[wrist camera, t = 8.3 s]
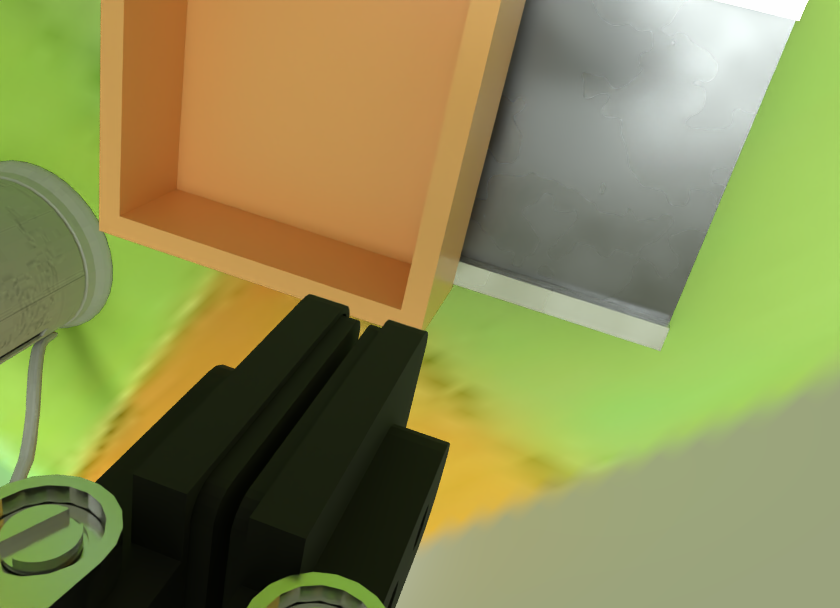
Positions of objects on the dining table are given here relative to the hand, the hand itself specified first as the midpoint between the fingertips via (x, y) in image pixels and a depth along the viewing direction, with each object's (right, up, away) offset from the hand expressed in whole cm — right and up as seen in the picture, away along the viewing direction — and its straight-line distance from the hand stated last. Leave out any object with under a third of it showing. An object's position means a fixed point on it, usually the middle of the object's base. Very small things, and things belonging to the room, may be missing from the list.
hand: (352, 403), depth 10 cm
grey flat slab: (+2, +9, +18) cm, 21 cm away
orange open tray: (-2, +10, +18) cm, 20 cm away
